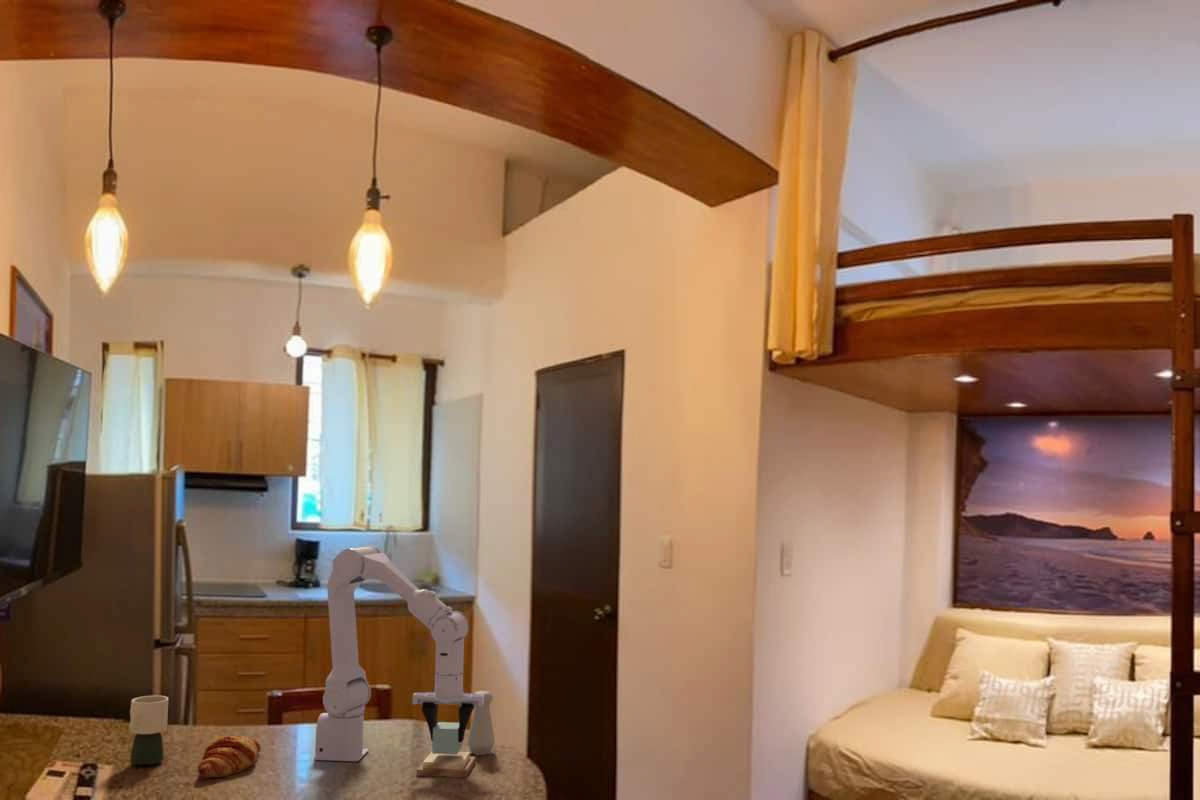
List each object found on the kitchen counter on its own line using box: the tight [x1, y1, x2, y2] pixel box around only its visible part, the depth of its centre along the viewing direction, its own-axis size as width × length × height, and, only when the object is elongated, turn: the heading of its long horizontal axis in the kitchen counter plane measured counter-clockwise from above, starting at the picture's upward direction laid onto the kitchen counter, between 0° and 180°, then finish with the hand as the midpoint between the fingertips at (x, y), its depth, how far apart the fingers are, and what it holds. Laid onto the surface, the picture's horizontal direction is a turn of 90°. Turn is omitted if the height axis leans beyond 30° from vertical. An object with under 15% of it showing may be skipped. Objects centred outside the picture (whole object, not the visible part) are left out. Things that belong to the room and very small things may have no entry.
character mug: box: [128, 695, 169, 767], centre depth 204 cm, size 11×7×13 cm, turn 169°
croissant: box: [197, 735, 262, 779], centre depth 203 cm, size 21×10×8 cm, turn 171°
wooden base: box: [416, 750, 476, 778], centre depth 204 cm, size 10×10×2 cm
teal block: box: [431, 721, 463, 754], centre depth 204 cm, size 5×5×5 cm
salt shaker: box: [467, 690, 496, 756], centre depth 216 cm, size 6×6×13 cm
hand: (447, 740), depth 205 cm, fingers closed on teal block, 5 cm apart
